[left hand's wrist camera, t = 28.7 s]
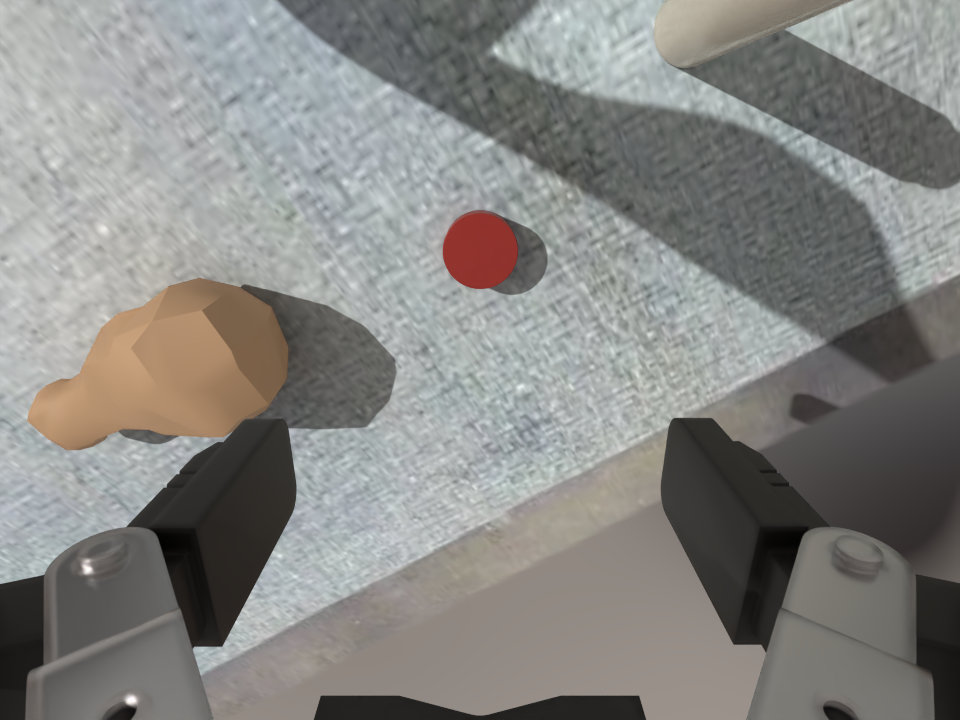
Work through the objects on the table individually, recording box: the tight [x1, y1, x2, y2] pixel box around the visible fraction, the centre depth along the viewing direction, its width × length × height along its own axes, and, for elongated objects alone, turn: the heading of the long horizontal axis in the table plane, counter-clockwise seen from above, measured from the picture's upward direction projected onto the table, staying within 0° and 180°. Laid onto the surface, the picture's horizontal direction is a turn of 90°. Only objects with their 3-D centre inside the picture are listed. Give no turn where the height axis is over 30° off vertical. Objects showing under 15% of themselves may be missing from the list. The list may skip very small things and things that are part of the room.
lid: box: [443, 210, 518, 289], centre depth 37 cm, size 5×5×2 cm
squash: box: [27, 278, 289, 450], centre depth 37 cm, size 11×20×9 cm, turn 117°
